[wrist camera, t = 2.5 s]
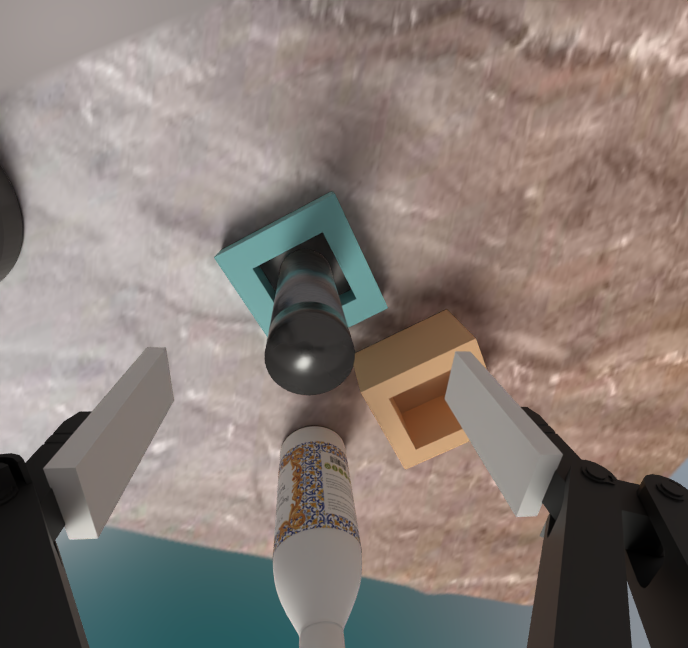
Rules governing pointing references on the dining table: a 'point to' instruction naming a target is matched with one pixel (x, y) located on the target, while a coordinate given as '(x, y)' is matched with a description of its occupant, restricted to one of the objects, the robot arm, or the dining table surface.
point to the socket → (415, 386)
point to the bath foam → (316, 537)
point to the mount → (288, 233)
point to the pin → (308, 328)
